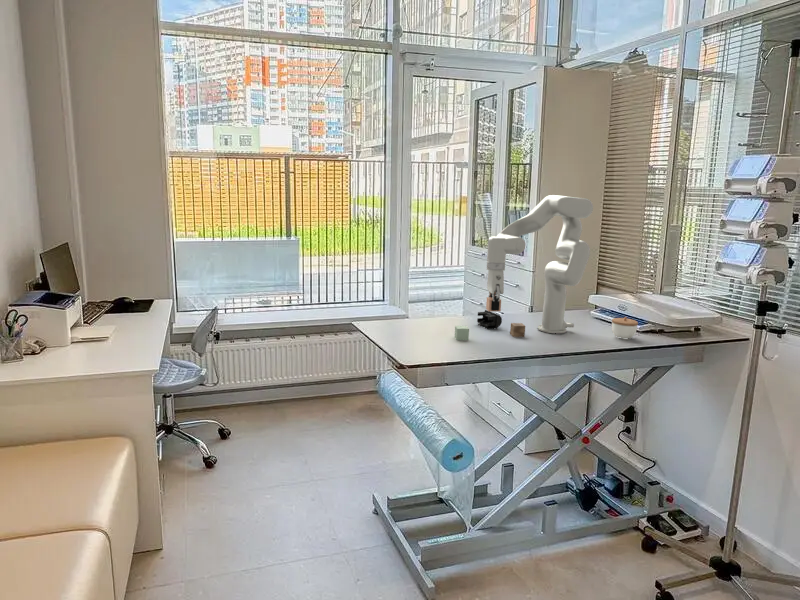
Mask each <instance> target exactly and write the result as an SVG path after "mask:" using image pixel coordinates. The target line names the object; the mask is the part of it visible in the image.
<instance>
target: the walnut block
mask: <svg viewBox="0 0 800 600" xmlns="http://www.w3.org/2000/svg"><path fill="white" fill-rule="evenodd" d="M509 334H510V335H511V336H512V337H514V338H525V335H526V325H525V324H524V323H521V322H511V323H510V331H509Z"/></svg>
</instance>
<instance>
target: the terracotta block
mask: <svg viewBox="0 0 800 600" xmlns="http://www.w3.org/2000/svg"><path fill="white" fill-rule="evenodd" d="M492 301H493V298H492V297H489V296H487V297H486V304H485V310H488V311H490V312H493V311H492V310H491V304H492ZM501 308H502V299H501V298H500V302H499V310H498V311H497V312H501V311H502V309H501Z"/></svg>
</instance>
